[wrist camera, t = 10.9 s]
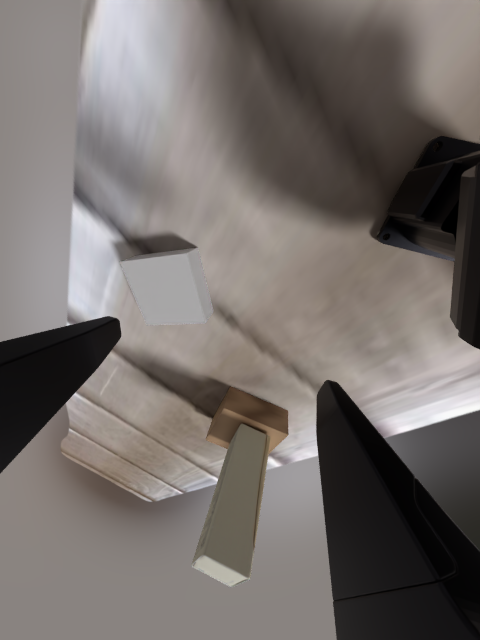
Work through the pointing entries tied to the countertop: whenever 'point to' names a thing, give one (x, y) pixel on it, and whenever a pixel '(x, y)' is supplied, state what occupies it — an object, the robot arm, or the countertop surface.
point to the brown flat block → (247, 419)
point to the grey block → (169, 287)
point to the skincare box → (235, 510)
